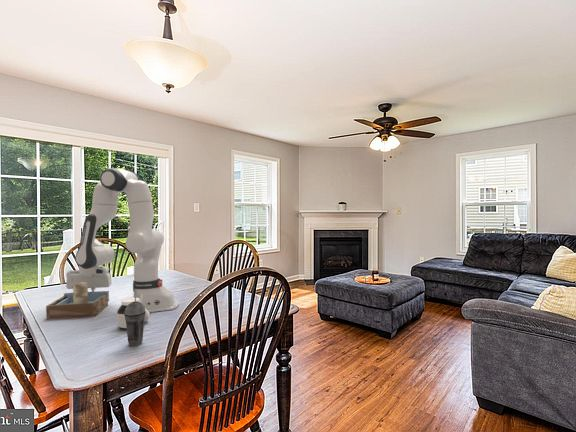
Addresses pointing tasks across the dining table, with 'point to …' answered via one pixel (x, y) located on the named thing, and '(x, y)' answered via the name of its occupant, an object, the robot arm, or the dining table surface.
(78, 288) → the beech block
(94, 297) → the tray
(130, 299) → the spread jar
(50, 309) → the caddy
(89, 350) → the dining table surface
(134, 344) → the beverage cup
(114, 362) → the dining table surface
